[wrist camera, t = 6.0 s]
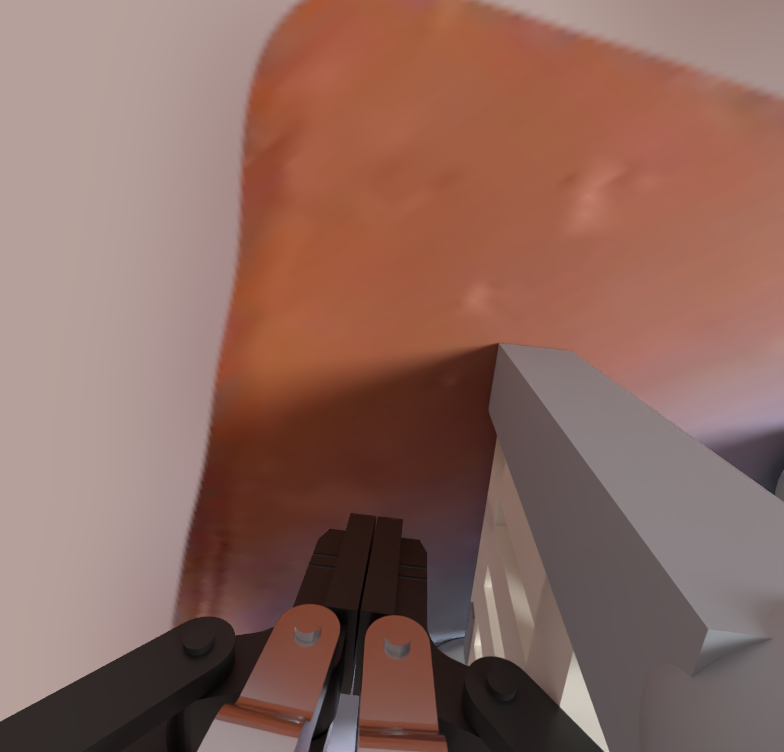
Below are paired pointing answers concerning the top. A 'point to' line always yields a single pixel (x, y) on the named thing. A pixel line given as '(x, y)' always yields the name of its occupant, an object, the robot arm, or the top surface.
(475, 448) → the top surface
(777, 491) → the reed diffuser
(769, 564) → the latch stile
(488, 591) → the gate
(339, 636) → the robot arm
